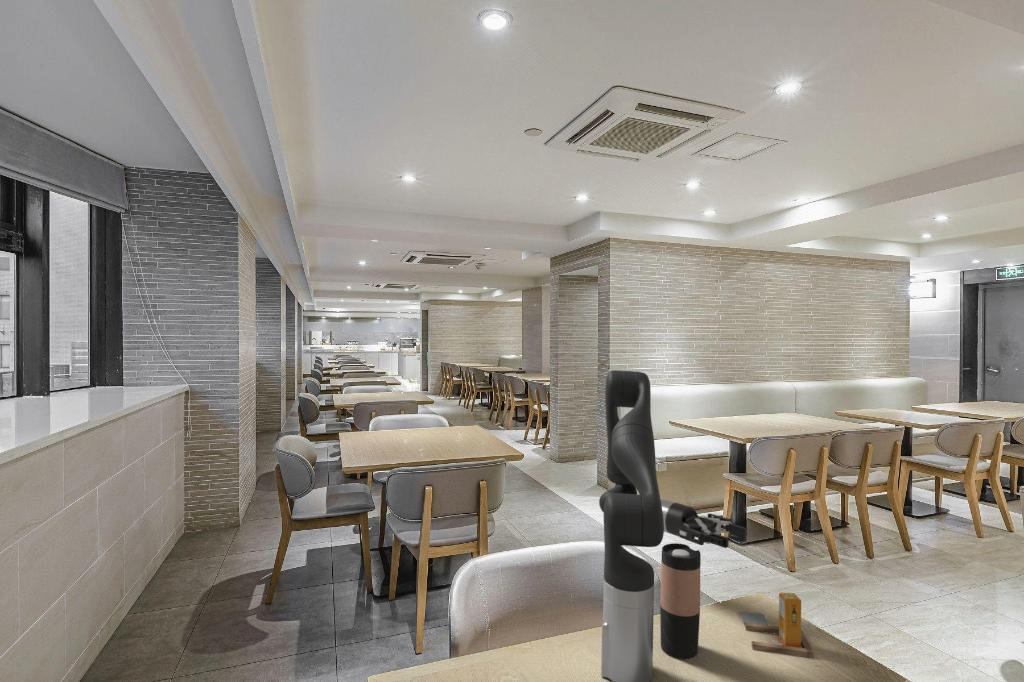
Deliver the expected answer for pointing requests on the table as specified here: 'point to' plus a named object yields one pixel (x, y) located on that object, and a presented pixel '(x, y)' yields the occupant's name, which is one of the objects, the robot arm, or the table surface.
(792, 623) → the supplement box
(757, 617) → the coaster
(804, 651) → the wooden u-shaped frame
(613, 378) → the robot arm
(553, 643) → the table surface
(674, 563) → the travel mug
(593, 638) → the table surface
